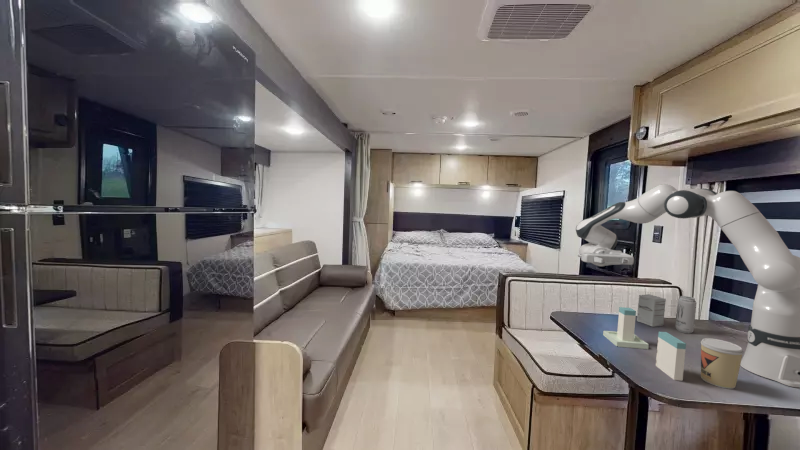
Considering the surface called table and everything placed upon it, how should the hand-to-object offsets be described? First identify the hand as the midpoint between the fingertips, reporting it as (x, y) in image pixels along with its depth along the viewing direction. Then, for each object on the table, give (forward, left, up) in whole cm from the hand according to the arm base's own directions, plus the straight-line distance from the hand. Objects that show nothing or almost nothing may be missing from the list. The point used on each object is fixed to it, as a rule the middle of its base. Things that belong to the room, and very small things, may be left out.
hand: (615, 261), depth 139 cm
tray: (-3, +11, -30) cm, 32 cm away
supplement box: (-20, -19, -30) cm, 41 cm away
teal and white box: (-9, +34, -30) cm, 46 cm away
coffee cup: (-22, +34, -30) cm, 50 cm away
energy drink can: (-31, -14, -30) cm, 45 cm away
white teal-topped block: (-3, +11, -29) cm, 31 cm away
